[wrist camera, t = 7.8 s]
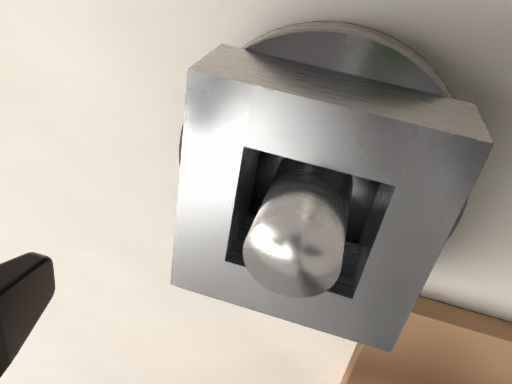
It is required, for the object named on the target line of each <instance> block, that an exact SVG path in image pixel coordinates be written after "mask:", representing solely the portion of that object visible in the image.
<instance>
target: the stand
mask: <svg viewBox="0 0 512 384" xmlns="http://www.w3.org/2000/svg"><path fill="white" fill-rule="evenodd" d="M340 384H512V323H509V322H506V321H503V320H499V319H496V318H492V317H489V316H485V315H482V314H479V313H475V312H472V311H468V310H465V309H461V308H458V307H455V306H451V305H448V304H444V303H441V302H437V301H434V300H430V299H427V298H424V297H420V296H419V297H418V299H417V301H416V303H415V305H414V307H413V309H412V311H411V313H410V315H409V317H408V319H407V321H406V323H405V325H404V327H403V329H402V331H401V333H400V335H399V337H398V339H397V341H396V343H395V345H394V347H393V349H392V352H391V353H390V352H387V351H384V350H380V349H377V348H374V347H371V346H368V345H364V344H361V343H357V346H356V348H355V350H354V353H353V355H352V357H351V360H350V362H349V364H348V367H347V369H346V372H345V374H344V376H343V379H342V381H341V383H340Z"/></svg>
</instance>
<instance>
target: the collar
mask: <svg viewBox="0 0 512 384" xmlns="http://www.w3.org/2000/svg"><path fill="white" fill-rule="evenodd" d="M493 144H494V143H493V141H492V139H491V137H490V134H489V132H488V130H487V128H486V126H485V124H484V122H483V119H482V117H481V115H480V113H479V111H478V109H477V106H476V104H475V103H471V102H467V101H463V100H458V99H454V98H450V97H446V96H441V95H437V94H433V93H429V92H424V91H420V90H416V89H412V88H407V87H403V86H399V85H395V84H390V83H386V82H382V81H378V80H373V79H369V78H365V77H361V76H356V75H352V74H348V73H344V72H339V71H335V70H331V69H327V68H322V67H318V66H314V65H310V64H305V63H301V62H297V61H293V60H288V59H284V58H280V57H276V56H271V55H267V54H263V53H259V52H254V51H250V50H246V49H242V48H237V47H233V46H229V45H225V44H221V45H220V46H219V47H217V48H216V49H214V50H213V51H212V52H210V53H209V54H208V55H206V56H205V57H204V58H202V59H201V60H199V61H198V62H197V63H195V64H194V65H193V66H191V67H190V68H188V76H187V88H186V100H185V113H184V125H183V138H182V150H181V162H180V175H179V187H178V199H177V212H176V224H175V236H174V249H173V261H172V273H171V285H173V286H177V287H180V288H183V289H186V290H190V291H193V292H196V293H199V294H203V295H206V296H209V297H212V298H216V299H219V300H222V301H225V302H228V303H232V304H235V305H238V306H241V307H245V308H248V309H251V310H254V311H258V312H261V313H264V314H267V315H271V316H274V317H277V318H280V319H283V320H287V321H290V322H293V323H296V324H300V325H303V326H306V327H309V328H313V329H316V330H319V331H322V332H325V333H329V334H332V335H335V336H338V337H342V338H345V339H348V340H351V341H355V342H358V343H361V344H364V345H368V346H371V347H374V348H377V349H380V350H384V351H387V352H390V353H391V352H392V349H393V347H394V345H395V343H396V341H397V339H398V337H399V335H400V333H401V331H402V329H403V327H404V325H405V323H406V321H407V319H408V317H409V315H410V313H411V311H412V309H413V307H414V305H415V303H416V301H417V299H418V297H419V295H420V293H421V290H422V288H423V286H424V284H425V282H426V280H427V278H428V276H429V274H430V272H431V270H432V268H433V266H434V264H435V262H436V260H437V258H438V256H439V254H440V252H441V250H442V248H443V246H444V244H445V242H446V240H447V238H448V236H449V234H450V232H451V229H452V227H453V225H454V223H455V221H456V219H457V217H458V215H459V213H460V211H461V209H462V207H463V205H464V203H465V201H466V199H467V197H468V195H469V193H470V191H471V189H472V187H473V185H474V183H475V181H476V179H477V177H478V175H479V173H480V170H481V168H482V166H483V164H484V162H485V160H486V158H487V156H488V154H489V152H490V150H491V148H492V146H493ZM259 151H263V152H267V153H271V154H275V155H278V156H282V157H286V158H290V159H294V160H297V161H301V162H305V163H309V164H313V165H316V166H320V167H324V168H328V169H332V170H335V171H339V172H343V173H347V174H351V175H354V176H358V177H362V178H366V179H370V180H373V181H377V182H380V185H379V188H378V191H377V193H376V196H375V199H374V202H373V204H372V207H371V210H370V213H369V216H368V218H367V221H366V224H365V227H364V229H363V232H362V235H361V238H360V240H359V243H358V245H357V244H354V243H350V242H347V241H345V245H344V252H343V259H342V266H341V271H340V275H339V277H338V279H337V281H336V282H335V284H334V285H333V286H332V287H331V288H330V289H328V290H327V291H325V292H324V293H322V294H319V295H317V296H313V297H308V298H291V297H285V296H281V295H279V294H276V293H274V292H271V291H269V290H268V289H266V288H264V287H263V286H262V285H260V284H259V283H258V282H257V281H256V280H255V279H254V278H253V277H252V276H251V274H250V273H249V271H248V270H247V268H246V265H245V263H244V259H243V245H244V241H245V239H246V237H247V235H248V232H249V230H250V228H251V226H252V224H253V222H254V219H255V217H256V216H254V215H251V214H248V210H249V205H250V200H251V194H252V189H253V183H254V178H255V173H256V167H257V162H258V156H259Z"/></svg>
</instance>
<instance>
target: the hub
mask: <svg viewBox="0 0 512 384" xmlns="http://www.w3.org/2000/svg"><path fill="white" fill-rule="evenodd" d="M242 49H246V50H250V51H254V52H259V53H263V54H267V55H271V56H276V57H280V58H284V59H288V60H293V61H297V62H301V63H305V64H310V65H314V66H318V67H322V68H327V69H331V70H335V71H339V72H344V73H348V74H352V75H356V76H361V77H365V78H369V79H373V80H378V81H382V82H386V83H390V84H395V85H399V86H403V87H407V88H412V89H416V90H420V91H424V92H429V93H433V94H437V95H441V96H446V97H450V98H452V96H451V94H450V92H449V91H448V89H447V87H446V86H445V84H444V83H443V81H442V79H441V78H440V77H439V76H438V74H437V73H436V72H435V71H434V70H433V69H432V67H431V66H430V65H429V64H428V63H427V62H426V61H425V60H424V59H422V58H421V57H420V56H419V55H418V54H417V53H415V52H414V51H413V50H412V49H410V48H409V47H407V46H405V45H404V44H402V43H401V42H399V41H398V40H396V39H394V38H392V37H390V36H387V35H385V34H383V33H381V32H379V31H376V30H373V29H370V28H366V27H363V26H359V25H356V24H349V23H342V22H326V21H315V22H307V23H299V24H294V25H290V26H287V27H283V28H279V29H276V30H274V31H271V32H269V33H267V34H264V35H262V36H260V37H258V38H257V39H255V40H253V41H252V42H250V43H248V44H247V45H245V46H244V47H242ZM183 125H184V123H183ZM182 138H183V127H182V131H181V138H180V144H179V163H180V162H181V150H182ZM379 185H380V182H377V181H373V180H370V179H366V178H362V177H358V176H354V175H351V174H347V173H343V172H339V171H335V170H332V169H328V168H324V167H320V166H316V165H313V164H309V163H305V162H301V161H297V160H294V159H290V158H286V157H282V156H278V155H275V154H271V153H267V152H263V151H259V156H258V162H257V167H256V173H255V178H254V183H253V189H252V194H251V200H250V205H249V210H248V214H251V215H254V216H256V217H255V219H254V222H253V224H252V226H251V228H250V230H249V232H248V235H247V237H246V239H245V241H244V245H243V259H244V263H245V265H246V268H247V270H248V271H249V273H250V274H251V276H252V277H253V278H254V279H255V280H256V281H257V282H258V283H259V284H260V285H262V286H263V287H264V288H266V289H268V290H269V291H271V292H274V293H276V294H279V295H281V296H285V297H291V298H308V297H313V296H317V295H319V294H322V293H324V292H325V291H327V290H328V289H330V288H331V287H332V286H333V285H334V284H335V282H336V281H337V279H338V277H339V275H340V271H341V266H342V259H343V252H344V245H345V241H347V242H350V243H354V244H357V245H358V243H359V240H360V238H361V235H362V232H363V229H364V227H365V224H366V221H367V218H368V216H369V213H370V210H371V207H372V204H373V202H374V199H375V196H376V193H377V191H378V188H379ZM467 199H468V197H467ZM467 199H466V201H465V203H464V205H463V207H462V209H461V211H460V213H459V215H458V217H457V219H456V221H455V223H454V225H453V227H452V229H451V232H450V234H449V236H448V238H449V237H450V236H451V234H452V232H453V231H454V229H455V227H456V226H457V224H458V222H459V221H460V218H461V216H462V213H463V211H464V208H465V206H466V203H467ZM448 238H447V239H448Z"/></svg>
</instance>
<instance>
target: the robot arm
mask: <svg viewBox="0 0 512 384" xmlns="http://www.w3.org/2000/svg"><path fill="white" fill-rule="evenodd" d="M54 291H55V278H54V269H53V262H52V260H51V258H50V257H48V256H45V255H42V254H39V253H35V252H30V253H26V254H24V255H21V256H19V257H16V258H14V259H11V260H9V261H6V262H4V263H2V264H0V377H1V376H2V375H3V373H4V372H5V371H6V369H7V368H8V367H9V365H10V364H11V362H12V361H13V359H14V358H15V356H16V355H17V353H18V352H19V350H20V349H21V347H22V345H23V344H24V342H25V341H26V339H27V337H28V336H29V334H30V332H31V331H32V329H33V328H34V326H35V324H36V323H37V321H38V320H39V318H40V316H41V315H42V313H43V312H44V310H45V308H46V307H47V305H48V303H49V302H50V300H51V299H52V297H53V294H54Z"/></svg>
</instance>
